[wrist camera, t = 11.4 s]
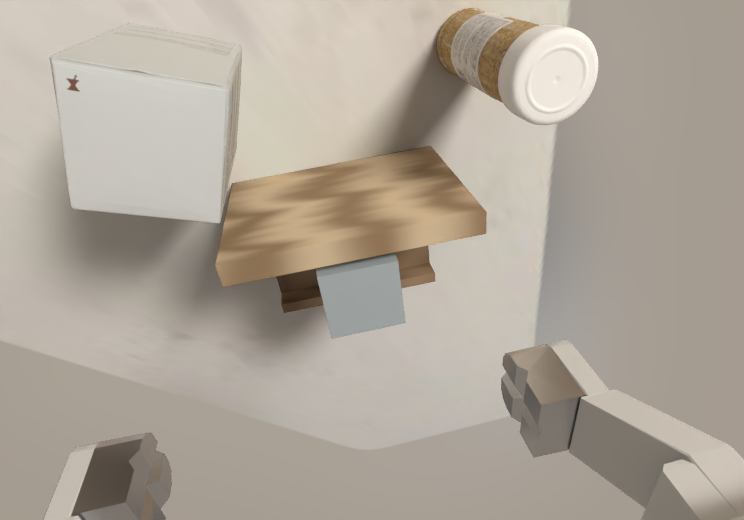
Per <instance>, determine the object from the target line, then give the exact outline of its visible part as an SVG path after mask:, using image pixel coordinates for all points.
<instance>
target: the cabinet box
mask: <svg viewBox="0 0 744 520" xmlns="http://www.w3.org/2000/svg"><path fill="white" fill-rule="evenodd" d="M316 273H317V280H318V284H319V288H320V292H321V296H322V300H323V305H324V309H325V313H326V317H327V321H328V325H329V329H330V333H331V338H332V339H333V338H338V337H342V336H347V335H352V334H356V333H361V332H366V331H370V330H375V329H380V328H384V327H389V326H394V325H398V324H403V323H405V314H404V306H403V298H402V289H401V281H400V273H399V264H398V260H397V257H396V255H395V252H394V253H389V254H384V255H379V256H374V257H369V258H364V259H359V260H354V261H349V262H344V263H340V264H335V265H330V266H325V267H320V268H316Z"/></svg>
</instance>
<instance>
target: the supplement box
mask: <svg viewBox="0 0 744 520" xmlns="http://www.w3.org/2000/svg"><path fill="white" fill-rule="evenodd" d="M50 63H51V69H52V75H53V82H54V88H55V95H56V101H57V108H58V114H59V121H60V129H61V137H62V145H63V153H64V160H65V167H66V175H67V183H68V191H69V198H70V204H71V208H72V209H76V210H85V211H96V212H106V213H116V214H126V215H136V216H146V217H156V218H167V219H177V220H187V221H196V222H207V223H216V224H219V223H220V222H221V218H222V213H223V208H224V203H225V199H226V193H227V188H228V183H229V178H230V174H231V170H232V166H233V161H234V157H235V153H236V148H237V131H238V116H239V100H240V83H241V63H242V46H241V45H237V44H233V43H229V42H224V41H220V40H215V39H210V38H205V37H200V36H194V35H189V34H184V33H179V32H174V31H168V30H163V29H158V28H153V27H147V26H142V25H136V24H132V23H128V24H126V25H124V26H121V27H119V28H117V29H114V30H112V31H109V32H107V33H105V34H102V35H100V36H97V37H95V38H92V39H90V40H88V41H85V42H83V43H80V44H78V45H76V46H73V47H71V48H68V49H66V50H64V51H61V52H59V53H56V54H54V55H52V56H50Z"/></svg>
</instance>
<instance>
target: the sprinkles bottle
mask: <svg viewBox="0 0 744 520" xmlns="http://www.w3.org/2000/svg"><path fill="white" fill-rule="evenodd" d="M437 52H438V56H439V59H440V62H441V63H442V65H443V66H444V67H445V68H446V69H447V70H448V71H449V72H450V73H452V74H455V75H457V76H459V77H461V78H462V79H463V80H464V81H466V82H468V83H469V84H471V85H472V86H474V87H476V88H477V89H479V90H480V91H482V92H484V93H485V94H487V95H489V96H490V97H492V98H494V99H496V100H499V101H500V102H502V103H504V105H505V106H506V107H507V109H508V110H509V111H511V112H512V113H513V114H515V115H517V116H518V117H520V118H522V119H524V120H526V121H527V122H530V123H532V124H537V125H550V124H555V123H558V122H560V121H563V120H565V119H567V118H568V117H570V116H571V115H573V114H574V113H575V112H576V111H577V110H578V109H579V108H580V107H581V106H582V105H583V104H584V103H585V102H586V100H587V99H588V97H589V96H590V94H591V92H592V90H593V88H594V85H595V82H596V79H597V74H598V57H597V53H596V49H595V47H594V45H593V43H592V42H591V40H590V39H589V38H588V37H587V36H586V35H585V34H583V33H582V32H580V31H578V30H575V29H572V28H569V27H565V26H560V25H555V24H544V25H537V24H533V23H530V22H527V21H521V20H517V19H515V18H513V17H509V16H504V15H499V14H495V13H485V12H484V11H482V10H480V9H474V8H468V9H463V10H461V11H458V12H456V13H454V14H452V15H451V17H450V18H449V19H448V20H447V21H446V22H445V23H444V25H443V26H442V28H441V30H440V33H439V35H438V41H437Z"/></svg>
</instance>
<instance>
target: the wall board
mask: <svg viewBox="0 0 744 520" xmlns="http://www.w3.org/2000/svg"><path fill="white" fill-rule="evenodd" d="M482 234H486V211H485V210H484V208H483V207H482V206H481V205H480V204H479V203H478V201H477V200H476V199H475V198H474V197H473V195H472V194H471V193H470V192H469V191H468V190H467V188H466V187H465V186H464V185H463V184H462V182H461V181H460V180H459V179H458V178H457V176H456V175H455V174H454V173H453V172H452V171H451V169H450V168H449V167H448V166H447V165H446V163H445V162H444V161H443V160H442V159H441V157H440V156H439V155H438V154H437V153H436V152H435V150H434V149H433V148H432V147H431V146H428V147H423V148H418V149H413V150H407V151H402V152H397V153H391V154H386V155H381V156H375V157H370V158H365V159H360V160H354V161H349V162H344V163H338V164H333V165H328V166H322V167H317V168H312V169H306V170H301V171H296V172H291V173H285V174H280V175H275V176H269V177H264V178H259V179H253V180H248V181H243V182H238V183H233V184H232V188H231V193H230V198H229V203H228V207H227V212H226V217H225V222H224V226H223V231H222V236H221V240H220V245H219V250H218V255H217V259H216V264H215V267H216V270H217V273H218V275H219V278H220V280H221V283H222V286H223V287H227V286H232V285H237V284H241V283H246V282H251V281H256V280H261V279H266V278H271V277H276V276H277V280H278V283H279V286H280V290H281V293H282V308H283V311H284V313H286V312H291V311H296V310H300V309H305V308H310V307H315V306H319V305H323V300H322V296H321V292H320V288H319V284H318V280H317V273H316V268H320V267H325V266H330V265H335V264H340V263H344V262H349V261H354V260H359V259H364V258H369V257H374V256H379V255H384V254H389V253H394V252H395V255H396V257H397V260H398V264H399V273H400V281H401V288H405V287H410V286H415V285H420V284H424V283H429V282H434V281H435V273H434V271H433V269H432V267H431V265H430V263H429V250H428V245H433V244H438V243H443V242H447V241H452V240H457V239H462V238H467V237H472V236H477V235H482Z"/></svg>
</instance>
